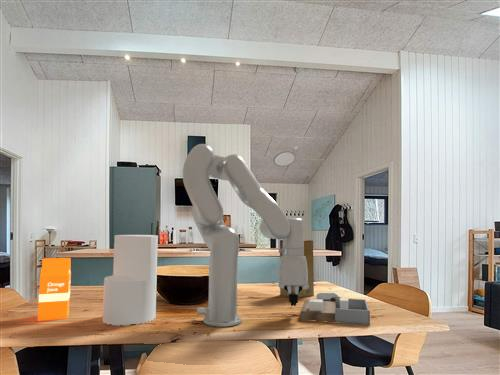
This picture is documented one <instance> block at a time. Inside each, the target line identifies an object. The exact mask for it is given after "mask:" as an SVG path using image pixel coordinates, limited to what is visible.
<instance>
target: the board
mask: <svg viewBox="0 0 500 375" xmlns="http://www.w3.org/2000/svg"><path fill="white" fill-rule="evenodd" d="M309 301H310V299H309V300H304V302H303V305H302V307H301V309H300V321H305V320H316V321H315V322H319V321H327V322H326V323H333V322H335V308H336V302H333V301H323V311H309Z"/></svg>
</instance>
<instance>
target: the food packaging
mask: <svg viewBox="0 0 500 375" xmlns="http://www.w3.org/2000/svg"><path fill="white" fill-rule="evenodd" d="M282 248H283V239H279V249H282ZM281 256H283V255H282V253H279V258H280V257H281ZM304 256H305V257H306V261H307V269H308V285H309V288H308V289H303V290H301V291H300V292H299V293H298V299H300V298H306V297H313V296H315V292H314V290H315V289H314V288H315V285H314V241H313V239H304ZM295 287H296V286H292V291H293V293H294V292H295ZM279 291H280V292H279V296H281V297H284V296H285V297H284V298H288V299H289V294H288V292H287V291H286V290H285V289H284V288H280V287H279Z"/></svg>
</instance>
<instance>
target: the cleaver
mask: <svg viewBox="0 0 500 375" xmlns="http://www.w3.org/2000/svg"><path fill="white" fill-rule="evenodd" d="M336 298H342V297H340V296H339V295H338V294H337V293H335V292H319V293H318V292H317V294H316V299H320V300H323V301H327V302H336Z"/></svg>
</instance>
